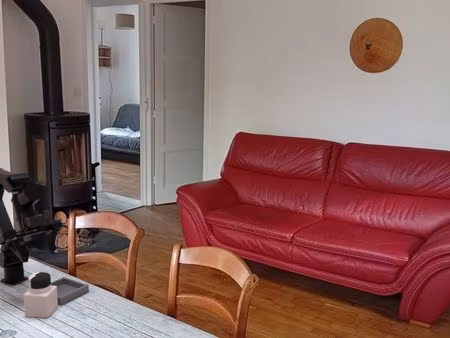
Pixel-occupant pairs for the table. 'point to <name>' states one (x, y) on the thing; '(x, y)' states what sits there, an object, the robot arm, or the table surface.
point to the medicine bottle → (40, 296)
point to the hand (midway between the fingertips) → (38, 258)
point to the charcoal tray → (69, 290)
